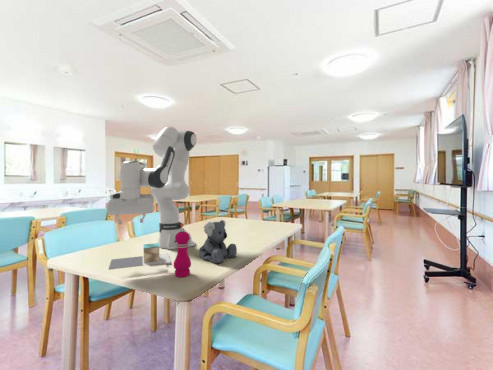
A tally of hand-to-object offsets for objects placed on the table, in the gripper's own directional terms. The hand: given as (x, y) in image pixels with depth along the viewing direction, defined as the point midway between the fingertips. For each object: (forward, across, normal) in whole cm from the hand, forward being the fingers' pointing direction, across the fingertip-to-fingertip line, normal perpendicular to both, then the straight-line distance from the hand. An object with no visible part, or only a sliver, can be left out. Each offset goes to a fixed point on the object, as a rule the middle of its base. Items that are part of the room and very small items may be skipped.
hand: (131, 223), depth 122 cm
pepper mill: (+20, -20, +24) cm, 37 cm away
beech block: (+11, -9, +1) cm, 15 cm away
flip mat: (+19, -4, +1) cm, 20 cm away
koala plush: (+20, -40, +7) cm, 45 cm away
